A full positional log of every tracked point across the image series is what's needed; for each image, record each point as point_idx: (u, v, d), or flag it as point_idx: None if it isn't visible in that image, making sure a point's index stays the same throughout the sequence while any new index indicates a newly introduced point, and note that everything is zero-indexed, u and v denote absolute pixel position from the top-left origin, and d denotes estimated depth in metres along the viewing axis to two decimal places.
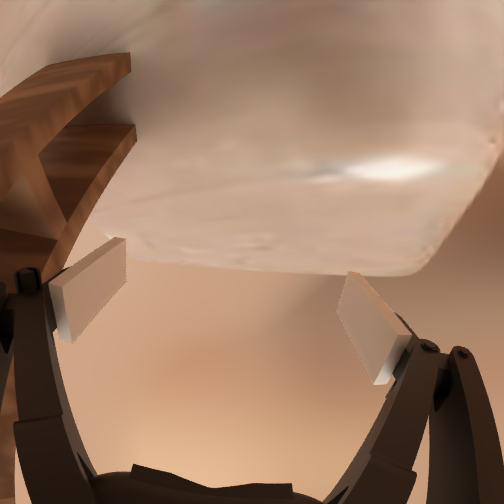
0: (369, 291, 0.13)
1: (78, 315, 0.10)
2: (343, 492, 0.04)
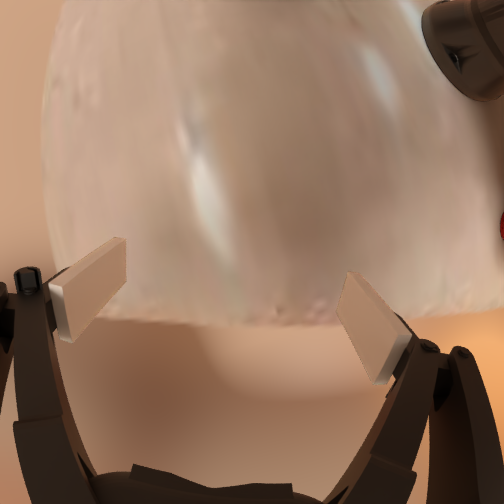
0: (369, 291, 0.13)
1: (78, 315, 0.10)
2: (343, 492, 0.04)
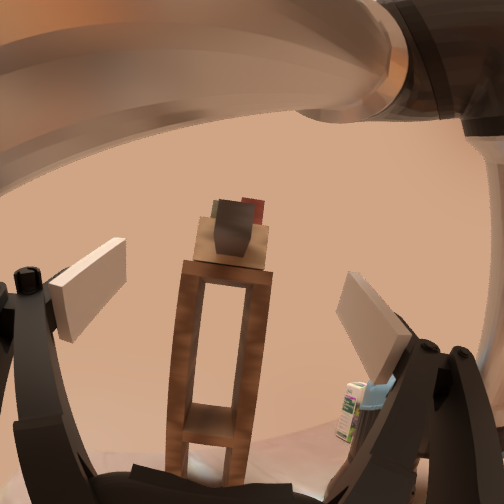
0: (369, 291, 0.13)
1: (78, 315, 0.10)
2: (343, 492, 0.04)
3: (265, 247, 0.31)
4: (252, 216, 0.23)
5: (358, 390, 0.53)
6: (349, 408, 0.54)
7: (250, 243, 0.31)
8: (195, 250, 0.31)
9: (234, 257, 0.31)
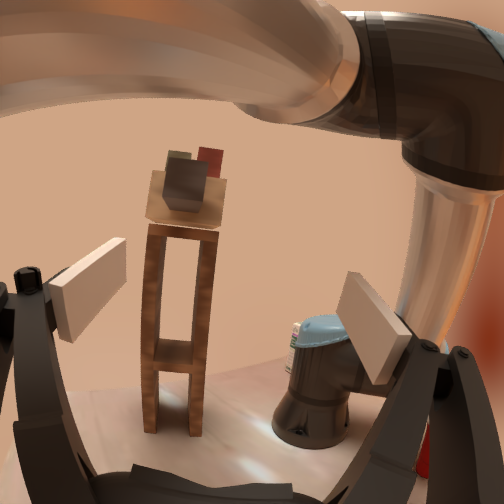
0: (369, 291, 0.13)
1: (78, 315, 0.10)
2: (343, 492, 0.04)
3: (222, 202, 0.29)
4: (205, 175, 0.19)
5: None
6: None
7: (206, 198, 0.28)
8: (147, 207, 0.27)
9: (189, 213, 0.28)
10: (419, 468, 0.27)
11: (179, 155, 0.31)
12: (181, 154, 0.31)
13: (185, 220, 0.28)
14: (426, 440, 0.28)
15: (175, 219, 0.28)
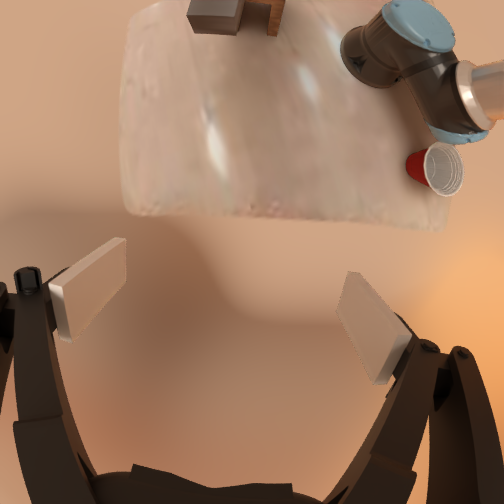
0: (369, 291, 0.13)
1: (78, 315, 0.10)
2: (343, 492, 0.04)
3: None
4: (233, 24, 0.13)
5: None
6: None
7: None
8: None
9: None
10: (408, 159, 0.50)
11: None
12: None
13: None
14: (421, 153, 0.44)
15: None
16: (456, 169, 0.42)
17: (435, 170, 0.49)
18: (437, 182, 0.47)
